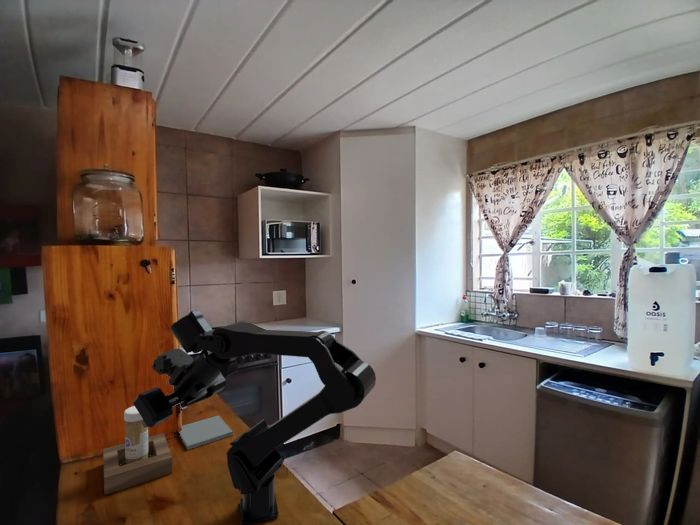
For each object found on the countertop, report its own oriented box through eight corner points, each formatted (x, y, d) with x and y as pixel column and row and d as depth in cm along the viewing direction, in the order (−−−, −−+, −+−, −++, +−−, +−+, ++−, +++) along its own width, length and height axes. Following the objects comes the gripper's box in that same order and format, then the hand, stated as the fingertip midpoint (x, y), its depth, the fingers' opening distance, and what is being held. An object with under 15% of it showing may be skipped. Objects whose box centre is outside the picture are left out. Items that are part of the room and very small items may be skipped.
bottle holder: (172, 472, 76) (172, 457, 75) (104, 495, 69) (104, 477, 68) (163, 446, 85) (163, 432, 85) (103, 464, 78) (103, 448, 78)
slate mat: (232, 435, 91) (232, 431, 91) (187, 450, 84) (187, 446, 84) (218, 418, 99) (218, 415, 99) (176, 431, 93) (176, 427, 93)
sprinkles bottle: (119, 473, 75) (118, 412, 75) (136, 461, 80) (135, 403, 79) (138, 476, 74) (137, 414, 74) (154, 463, 79) (153, 405, 78)
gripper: (215, 328, 80) (179, 370, 84) (139, 351, 62) (99, 402, 67) (243, 367, 77) (205, 408, 81) (173, 402, 60) (129, 451, 64)
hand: (163, 415), depth 73 cm, fingers open, 9 cm apart
